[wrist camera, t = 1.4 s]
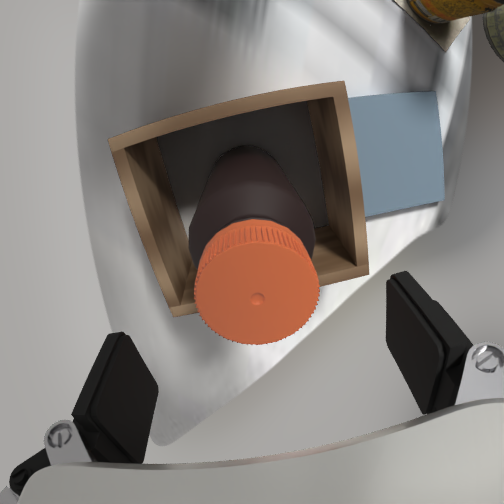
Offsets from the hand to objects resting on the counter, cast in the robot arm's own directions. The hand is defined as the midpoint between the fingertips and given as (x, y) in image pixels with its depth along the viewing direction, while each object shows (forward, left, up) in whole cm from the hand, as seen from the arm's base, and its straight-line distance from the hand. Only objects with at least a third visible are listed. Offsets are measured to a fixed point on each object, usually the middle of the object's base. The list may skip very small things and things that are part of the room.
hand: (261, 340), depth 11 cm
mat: (0, +16, -22) cm, 27 cm away
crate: (0, 0, -22) cm, 22 cm away
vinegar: (0, 0, -22) cm, 22 cm away
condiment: (-16, +24, -22) cm, 37 cm away
